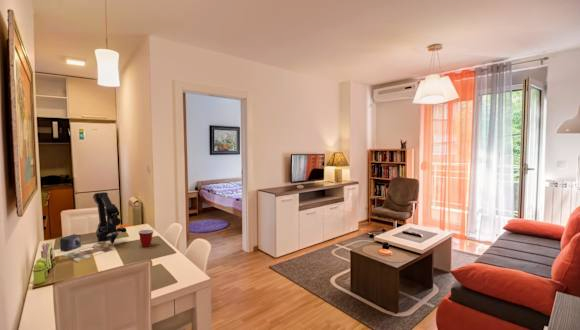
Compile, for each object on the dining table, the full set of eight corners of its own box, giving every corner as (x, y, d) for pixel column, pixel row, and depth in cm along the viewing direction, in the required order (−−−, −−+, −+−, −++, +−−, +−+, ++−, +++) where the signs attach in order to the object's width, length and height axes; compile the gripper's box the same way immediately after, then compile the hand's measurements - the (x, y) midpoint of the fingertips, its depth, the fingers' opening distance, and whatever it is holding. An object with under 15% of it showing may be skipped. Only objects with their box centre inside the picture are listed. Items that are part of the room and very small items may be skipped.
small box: (67, 253, 197) (66, 239, 197) (60, 252, 199) (59, 238, 198) (81, 248, 208) (80, 234, 207) (74, 247, 209) (73, 234, 208)
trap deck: (99, 246, 212) (99, 243, 211) (114, 251, 202) (114, 248, 201) (63, 256, 192) (63, 252, 191) (77, 263, 182) (77, 259, 181)
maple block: (103, 246, 207) (103, 241, 207) (107, 248, 204) (107, 242, 204) (94, 249, 202) (94, 243, 202) (98, 250, 199) (98, 245, 199)
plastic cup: (157, 245, 215) (157, 230, 214) (143, 249, 206) (143, 233, 205) (149, 242, 221) (148, 227, 220) (135, 246, 212) (135, 231, 211)
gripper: (118, 218, 221) (119, 238, 222) (92, 224, 205) (93, 245, 206) (126, 220, 215) (127, 240, 216) (100, 226, 199) (100, 248, 200)
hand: (112, 243), depth 210 cm, fingers closed
